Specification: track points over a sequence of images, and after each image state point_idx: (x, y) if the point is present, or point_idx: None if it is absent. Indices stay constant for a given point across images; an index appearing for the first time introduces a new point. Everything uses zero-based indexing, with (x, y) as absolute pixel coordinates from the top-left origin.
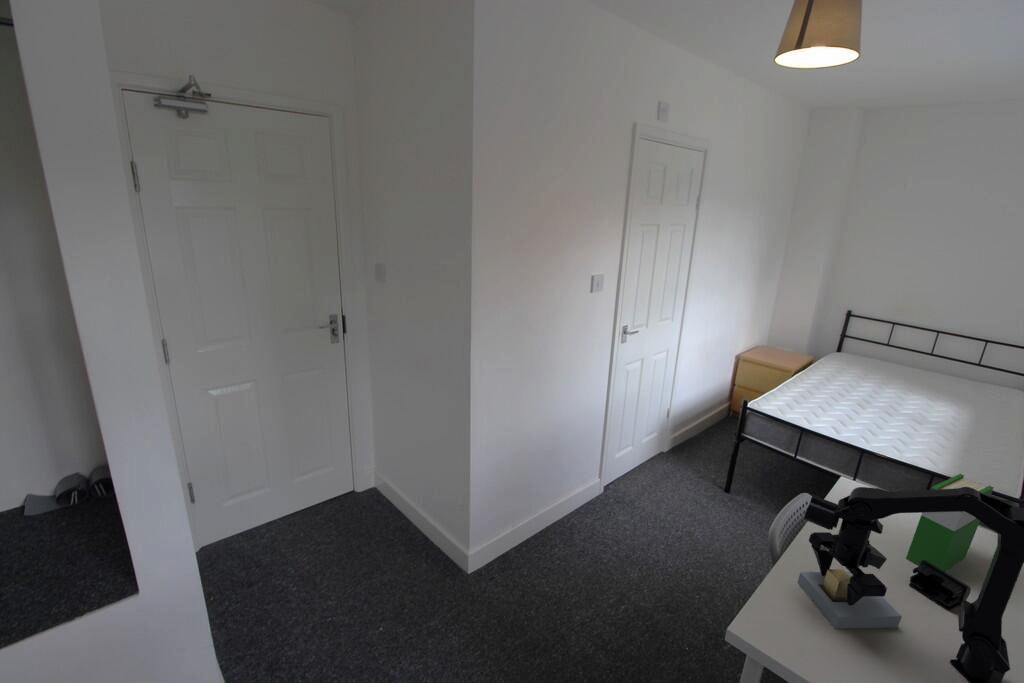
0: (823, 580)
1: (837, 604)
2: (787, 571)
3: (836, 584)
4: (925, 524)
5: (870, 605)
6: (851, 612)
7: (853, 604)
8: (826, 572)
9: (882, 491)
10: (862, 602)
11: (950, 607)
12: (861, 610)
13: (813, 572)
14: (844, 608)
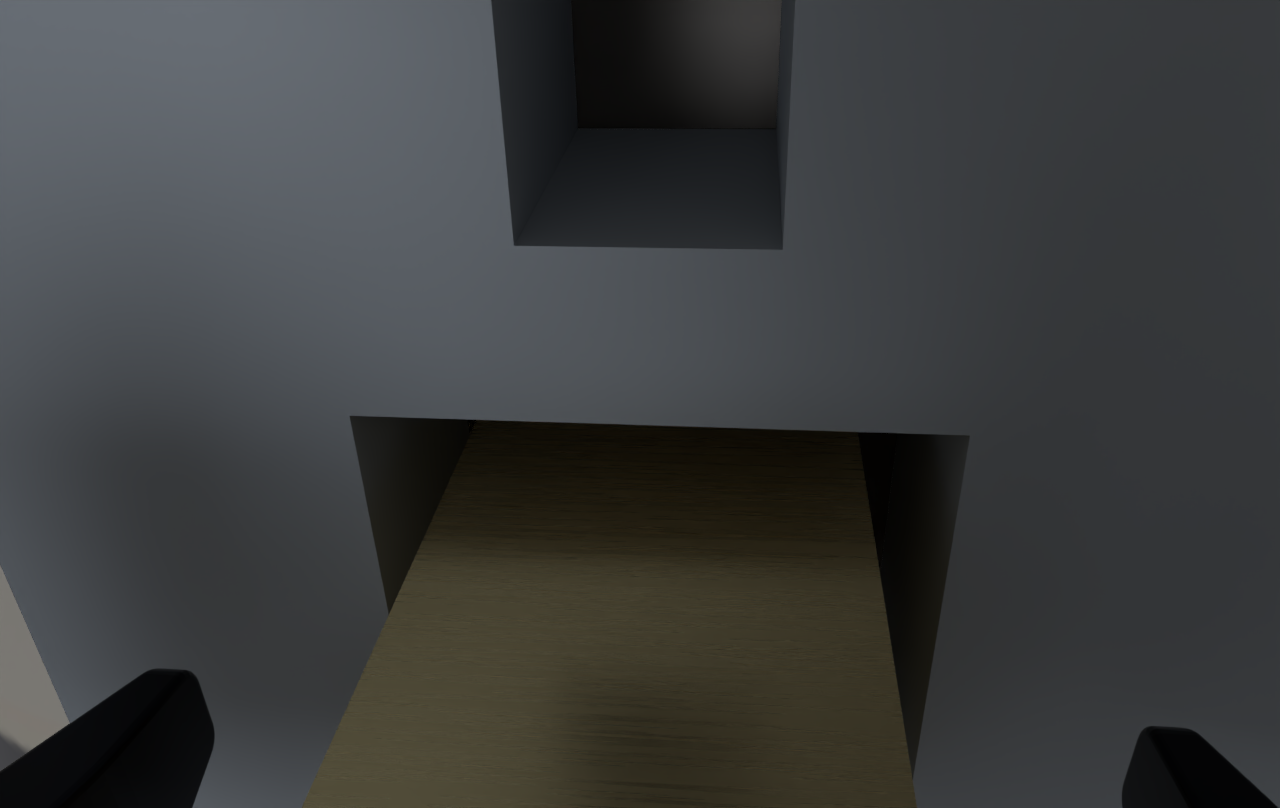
0: (285, 648)
1: (970, 806)
2: (29, 674)
3: None
4: None
5: (1194, 33)
6: (1234, 704)
7: (1217, 761)
8: (137, 788)
9: None
10: (1024, 211)
11: None
12: (1265, 458)
13: (75, 692)
14: (1099, 762)
